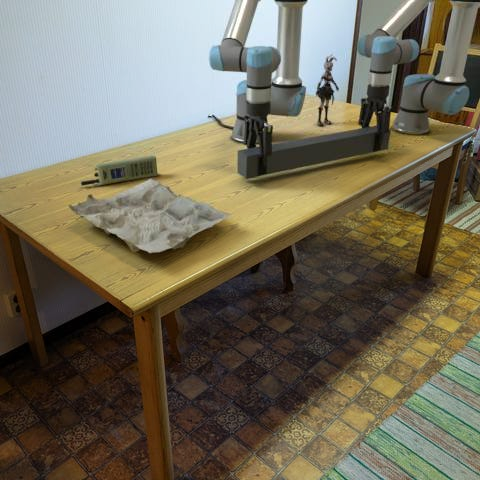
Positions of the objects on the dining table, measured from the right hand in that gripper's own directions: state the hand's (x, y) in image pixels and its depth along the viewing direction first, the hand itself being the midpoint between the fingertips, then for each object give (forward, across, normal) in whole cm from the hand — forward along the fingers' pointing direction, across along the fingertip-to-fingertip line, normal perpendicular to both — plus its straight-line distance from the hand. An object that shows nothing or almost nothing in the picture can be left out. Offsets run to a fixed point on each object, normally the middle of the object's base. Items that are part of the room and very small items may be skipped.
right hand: (370, 148), depth 187 cm
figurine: (+4, +42, -10) cm, 43 cm away
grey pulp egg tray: (+1, -14, +92) cm, 93 cm away
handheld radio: (+2, +21, +89) cm, 91 cm away
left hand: (-1, 0, +49) cm, 49 cm away
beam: (0, 0, +24) cm, 25 cm away
